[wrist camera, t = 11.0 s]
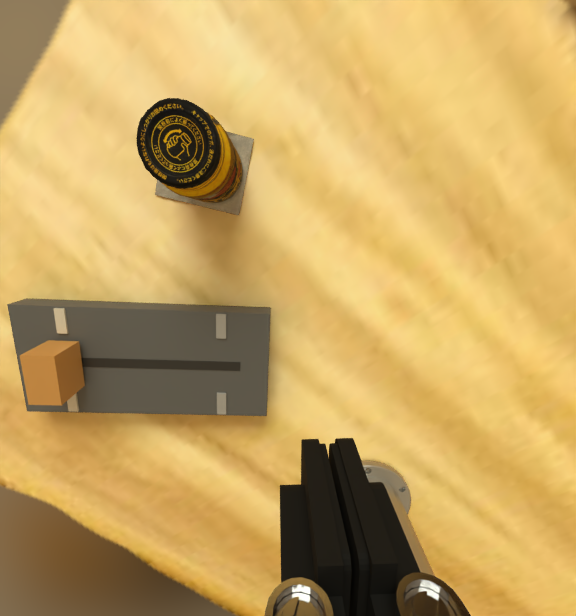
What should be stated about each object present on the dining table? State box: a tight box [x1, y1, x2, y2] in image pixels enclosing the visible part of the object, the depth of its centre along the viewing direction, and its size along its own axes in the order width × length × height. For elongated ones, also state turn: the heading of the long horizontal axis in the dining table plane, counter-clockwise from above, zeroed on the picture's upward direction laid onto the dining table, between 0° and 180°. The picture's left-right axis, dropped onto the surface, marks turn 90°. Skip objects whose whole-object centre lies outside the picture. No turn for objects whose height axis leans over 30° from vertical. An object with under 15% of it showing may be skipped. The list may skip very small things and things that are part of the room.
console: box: [8, 299, 270, 416], centre depth 35 cm, size 26×12×3 cm, turn 87°
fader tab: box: [20, 340, 85, 406], centre depth 31 cm, size 3×5×4 cm, turn 177°
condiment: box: [137, 98, 254, 215], centre depth 26 cm, size 7×8×12 cm
